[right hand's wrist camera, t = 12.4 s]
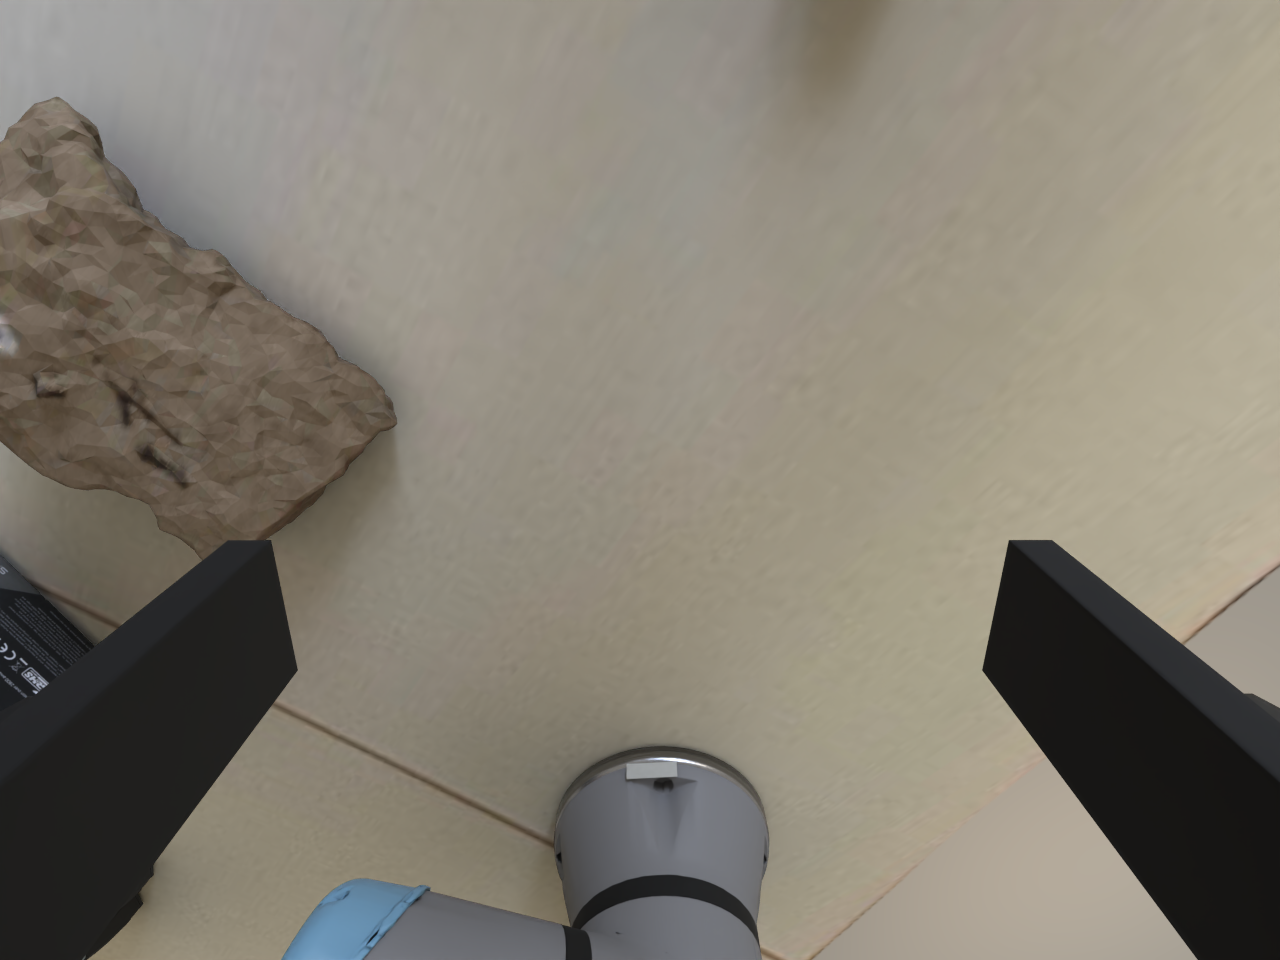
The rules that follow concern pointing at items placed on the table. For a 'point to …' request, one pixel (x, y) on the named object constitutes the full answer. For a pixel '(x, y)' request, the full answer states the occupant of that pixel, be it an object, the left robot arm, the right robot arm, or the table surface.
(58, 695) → the right robot arm
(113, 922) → the robot
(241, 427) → the stone
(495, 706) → the table surface
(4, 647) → the graphics card box
